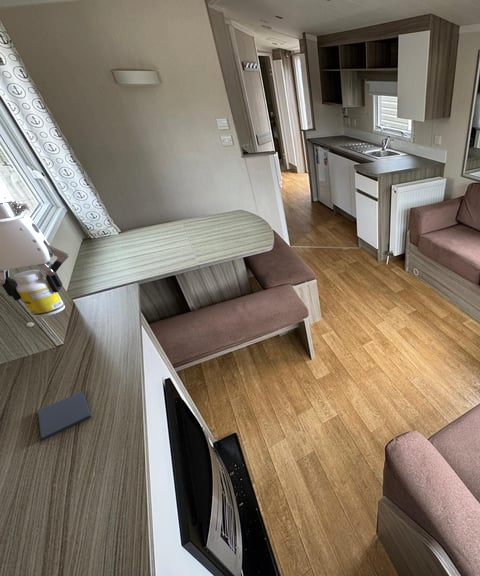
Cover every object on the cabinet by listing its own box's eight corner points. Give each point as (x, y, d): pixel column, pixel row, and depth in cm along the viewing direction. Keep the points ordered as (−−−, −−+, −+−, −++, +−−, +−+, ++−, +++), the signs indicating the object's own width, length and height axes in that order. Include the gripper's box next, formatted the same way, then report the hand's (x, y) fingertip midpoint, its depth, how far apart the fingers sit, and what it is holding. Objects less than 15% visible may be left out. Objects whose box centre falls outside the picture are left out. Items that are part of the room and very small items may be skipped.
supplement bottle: (32, 312, 70) (8, 273, 65) (64, 303, 73) (44, 266, 69) (33, 320, 67) (8, 280, 62) (67, 311, 70) (45, 272, 66)
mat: (39, 412, 62) (37, 409, 62) (84, 392, 67) (82, 390, 67) (42, 440, 56) (40, 438, 56) (91, 417, 61) (90, 415, 61)
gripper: (54, 204, 67) (91, 278, 75) (-68, 215, 58) (-12, 298, 66) (46, 210, 61) (87, 289, 70) (-90, 223, 53) (-26, 312, 61)
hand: (38, 293), depth 68 cm, fingers closed on supplement bottle, 5 cm apart
